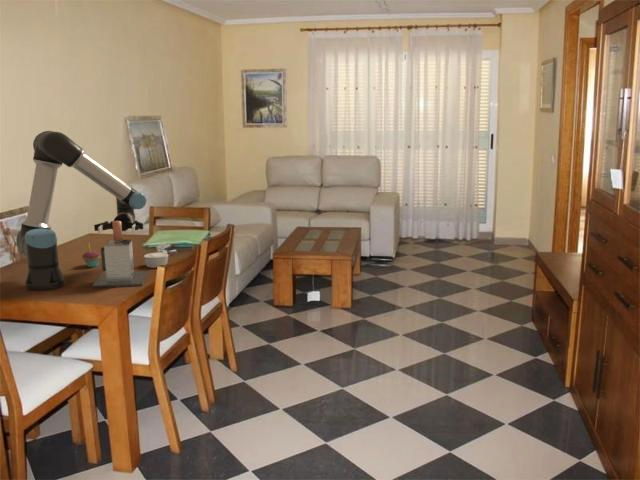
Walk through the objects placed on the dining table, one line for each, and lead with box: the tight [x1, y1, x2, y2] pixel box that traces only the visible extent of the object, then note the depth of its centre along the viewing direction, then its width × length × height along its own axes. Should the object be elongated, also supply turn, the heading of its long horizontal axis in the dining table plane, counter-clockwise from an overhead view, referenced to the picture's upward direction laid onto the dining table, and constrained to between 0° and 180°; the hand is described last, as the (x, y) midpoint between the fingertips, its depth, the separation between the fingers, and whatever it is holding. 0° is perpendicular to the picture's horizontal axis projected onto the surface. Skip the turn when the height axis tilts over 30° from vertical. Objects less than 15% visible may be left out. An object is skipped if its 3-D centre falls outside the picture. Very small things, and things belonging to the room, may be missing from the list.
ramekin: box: [143, 252, 169, 269], centre depth 289 cm, size 11×11×5 cm
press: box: [91, 239, 148, 289], centre depth 261 cm, size 20×20×17 cm
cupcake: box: [81, 242, 102, 268], centre depth 288 cm, size 9×8×12 cm
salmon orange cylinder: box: [112, 220, 124, 243], centre depth 260 cm, size 4×4×24 cm
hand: (116, 230), depth 255 cm, fingers open, 13 cm apart
